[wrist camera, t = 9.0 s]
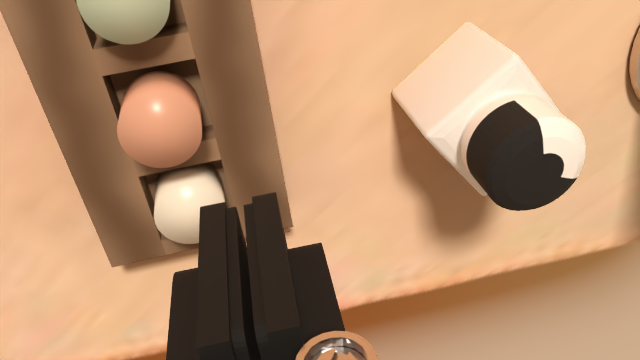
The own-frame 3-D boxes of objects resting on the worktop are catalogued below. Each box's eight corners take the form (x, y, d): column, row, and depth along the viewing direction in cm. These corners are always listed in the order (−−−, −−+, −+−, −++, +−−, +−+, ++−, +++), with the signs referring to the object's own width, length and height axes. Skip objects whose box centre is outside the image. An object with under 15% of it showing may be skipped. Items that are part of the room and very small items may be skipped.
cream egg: (214, 152, 39) (217, 179, 36) (229, 206, 41) (232, 235, 38) (147, 166, 38) (144, 194, 35) (165, 220, 41) (164, 250, 38)
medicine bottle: (444, 149, 44) (522, 245, 34) (388, 91, 40) (457, 180, 30) (518, 84, 42) (623, 166, 32) (467, 18, 38) (567, 86, 28)
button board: (226, -113, 31) (229, -109, 29) (287, 206, 43) (292, 226, 41) (-18, -74, 30) (-33, -67, 28) (115, 244, 42) (112, 267, 40)
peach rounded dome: (190, 64, 34) (191, 87, 31) (207, 131, 36) (210, 158, 33) (111, 79, 33) (105, 103, 30) (135, 146, 36) (131, 175, 33)
